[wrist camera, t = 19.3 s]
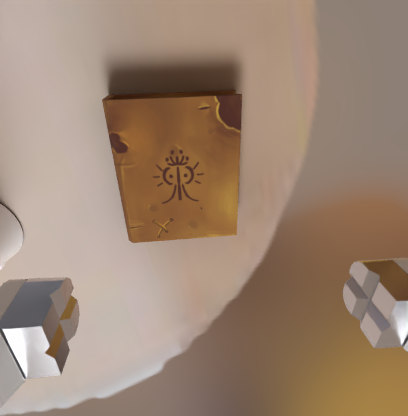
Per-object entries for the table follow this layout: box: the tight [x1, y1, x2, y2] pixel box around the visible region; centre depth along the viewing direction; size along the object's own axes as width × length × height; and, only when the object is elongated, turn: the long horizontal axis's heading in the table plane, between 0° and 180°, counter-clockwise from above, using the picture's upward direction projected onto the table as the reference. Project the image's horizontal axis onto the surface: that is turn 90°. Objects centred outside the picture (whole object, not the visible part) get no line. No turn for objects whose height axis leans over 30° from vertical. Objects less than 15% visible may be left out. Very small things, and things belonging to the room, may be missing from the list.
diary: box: [102, 90, 242, 243], centre depth 46 cm, size 23×19×6 cm
